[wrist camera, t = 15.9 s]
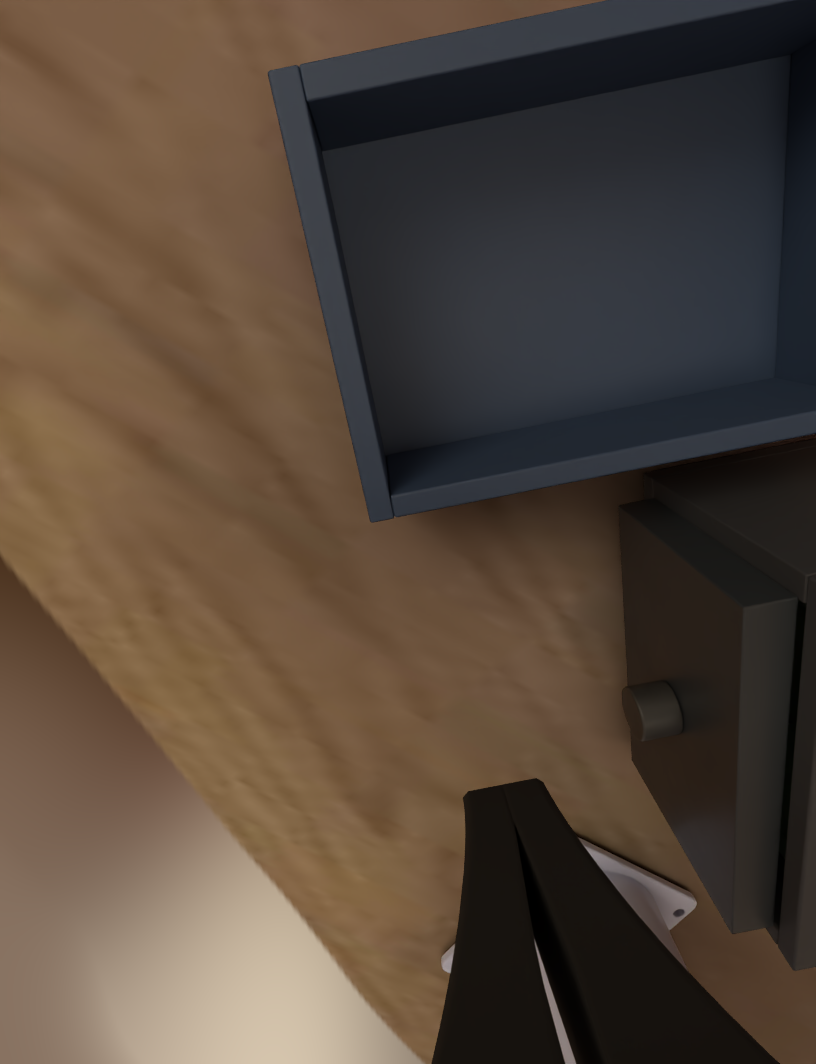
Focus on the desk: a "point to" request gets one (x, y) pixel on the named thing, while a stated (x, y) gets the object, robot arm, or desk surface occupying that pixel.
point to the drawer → (712, 702)
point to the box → (563, 242)
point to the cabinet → (812, 575)
